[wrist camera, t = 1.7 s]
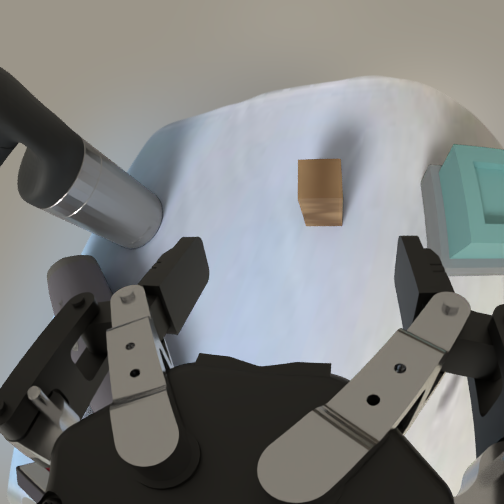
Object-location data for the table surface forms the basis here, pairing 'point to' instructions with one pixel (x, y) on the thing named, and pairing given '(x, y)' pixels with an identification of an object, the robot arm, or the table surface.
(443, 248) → the tower base
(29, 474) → the color panel box
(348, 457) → the robot arm
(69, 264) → the bluetooth speaker
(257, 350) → the table surface
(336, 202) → the walnut brick
